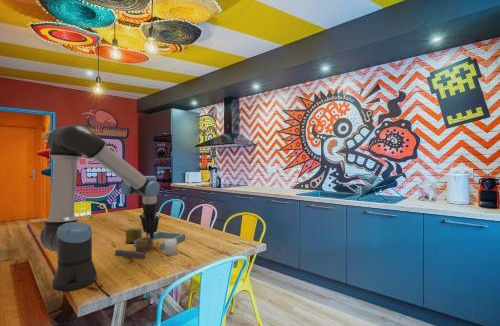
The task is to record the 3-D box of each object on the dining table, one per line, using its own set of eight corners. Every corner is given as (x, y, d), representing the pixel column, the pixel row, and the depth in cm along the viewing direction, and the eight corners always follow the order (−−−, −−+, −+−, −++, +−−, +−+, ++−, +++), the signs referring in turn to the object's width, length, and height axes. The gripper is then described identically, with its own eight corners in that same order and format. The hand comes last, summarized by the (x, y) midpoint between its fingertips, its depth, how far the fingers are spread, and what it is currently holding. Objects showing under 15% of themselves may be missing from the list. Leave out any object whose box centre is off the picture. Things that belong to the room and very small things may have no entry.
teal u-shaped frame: (161, 250, 147) (161, 244, 147) (134, 247, 154) (134, 240, 154) (184, 239, 168) (184, 233, 168) (159, 236, 175) (159, 231, 175)
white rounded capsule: (172, 255, 139) (171, 242, 139) (162, 254, 141) (162, 241, 141) (178, 252, 145) (178, 239, 145) (169, 250, 147) (169, 238, 147)
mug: (137, 241, 158) (134, 225, 160) (122, 246, 160) (120, 229, 162) (150, 240, 169) (147, 224, 172) (136, 244, 171) (134, 228, 174)
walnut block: (145, 252, 145) (145, 241, 145) (136, 251, 147) (136, 240, 147) (152, 249, 150) (152, 238, 150) (144, 247, 152) (144, 237, 152)
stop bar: (142, 259, 135) (142, 254, 135) (115, 255, 141) (115, 250, 141) (145, 257, 136) (145, 253, 136) (118, 253, 143) (118, 249, 143)
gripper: (163, 202, 154) (163, 243, 154) (145, 201, 158) (145, 241, 159) (154, 204, 147) (155, 247, 147) (135, 203, 151) (136, 245, 151)
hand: (150, 244), depth 153 cm, fingers closed
